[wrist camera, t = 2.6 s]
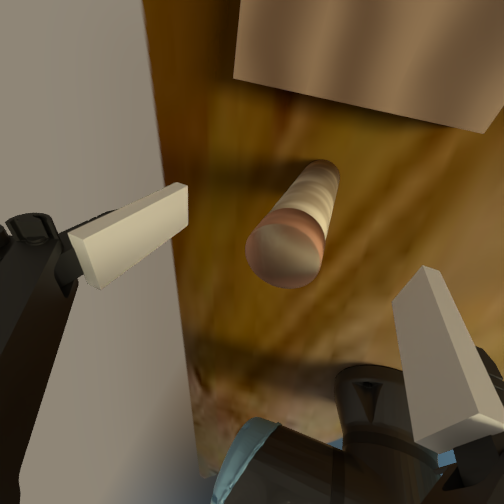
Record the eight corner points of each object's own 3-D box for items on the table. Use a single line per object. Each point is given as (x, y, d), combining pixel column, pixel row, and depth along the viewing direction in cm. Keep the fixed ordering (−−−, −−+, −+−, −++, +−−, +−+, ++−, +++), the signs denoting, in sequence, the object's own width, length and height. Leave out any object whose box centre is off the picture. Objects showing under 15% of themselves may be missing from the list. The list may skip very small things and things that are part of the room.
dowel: (346, 165, 23) (333, 239, 10) (331, 202, 25) (305, 298, 13) (307, 154, 24) (252, 211, 11) (296, 191, 26) (240, 272, 14)
